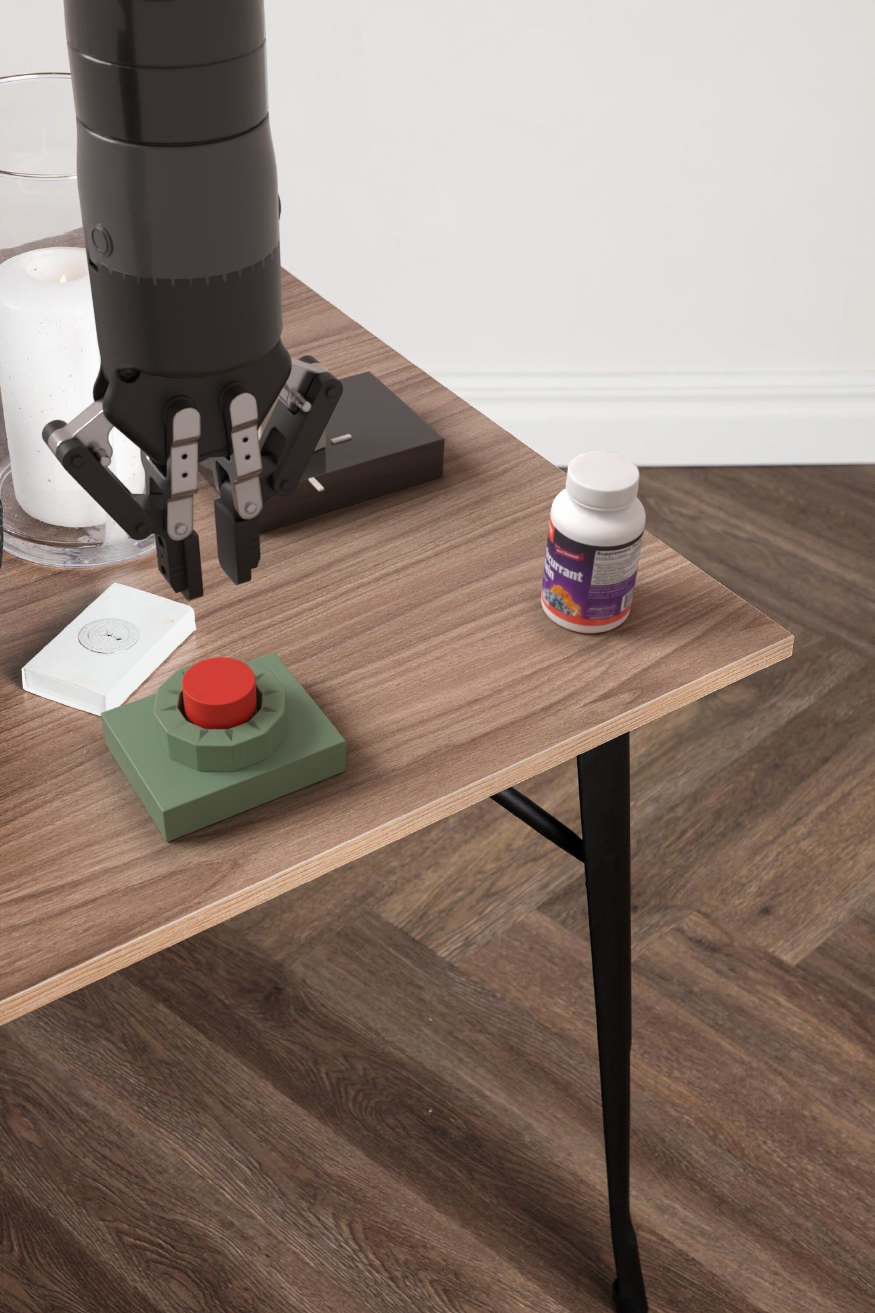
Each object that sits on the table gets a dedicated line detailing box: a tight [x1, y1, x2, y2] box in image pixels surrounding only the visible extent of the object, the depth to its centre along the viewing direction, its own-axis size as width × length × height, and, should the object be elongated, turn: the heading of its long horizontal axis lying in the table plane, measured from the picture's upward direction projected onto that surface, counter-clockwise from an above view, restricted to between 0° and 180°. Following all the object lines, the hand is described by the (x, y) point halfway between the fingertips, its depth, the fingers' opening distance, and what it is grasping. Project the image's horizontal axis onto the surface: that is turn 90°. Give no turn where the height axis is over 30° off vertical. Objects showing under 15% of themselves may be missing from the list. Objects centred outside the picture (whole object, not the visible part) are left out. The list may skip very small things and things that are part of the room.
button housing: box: [100, 651, 347, 843], centre depth 72 cm, size 10×8×4 cm
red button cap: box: [182, 656, 257, 729], centre depth 71 cm, size 4×4×2 cm
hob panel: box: [198, 370, 446, 534], centre depth 93 cm, size 15×12×3 cm
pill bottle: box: [540, 450, 647, 634], centre depth 81 cm, size 5×5×10 cm
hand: (210, 581), depth 66 cm, fingers closed
